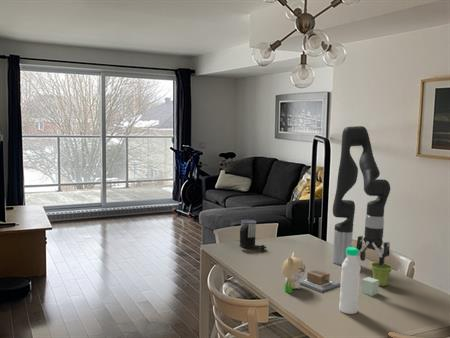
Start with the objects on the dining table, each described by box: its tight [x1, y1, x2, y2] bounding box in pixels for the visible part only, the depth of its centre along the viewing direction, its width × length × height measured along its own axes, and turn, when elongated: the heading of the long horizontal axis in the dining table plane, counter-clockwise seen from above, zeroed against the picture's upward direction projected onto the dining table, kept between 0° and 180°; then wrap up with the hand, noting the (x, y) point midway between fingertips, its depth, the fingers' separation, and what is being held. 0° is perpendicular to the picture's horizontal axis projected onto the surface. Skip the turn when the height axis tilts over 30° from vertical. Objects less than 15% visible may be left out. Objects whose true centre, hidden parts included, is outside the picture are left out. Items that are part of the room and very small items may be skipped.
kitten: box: [281, 251, 306, 294], centre depth 196 cm, size 15×10×15 cm
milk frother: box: [239, 219, 267, 251], centre depth 257 cm, size 14×16×15 cm
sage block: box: [361, 276, 379, 297], centre depth 194 cm, size 5×5×6 cm
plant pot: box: [370, 261, 393, 287], centre depth 205 cm, size 9×9×9 cm
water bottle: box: [338, 246, 362, 315], centre depth 173 cm, size 7×7×25 cm
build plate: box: [299, 276, 341, 293], centre depth 202 cm, size 14×14×1 cm
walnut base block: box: [306, 269, 330, 286], centre depth 202 cm, size 7×7×4 cm
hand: (371, 262), depth 193 cm, fingers open, 8 cm apart
